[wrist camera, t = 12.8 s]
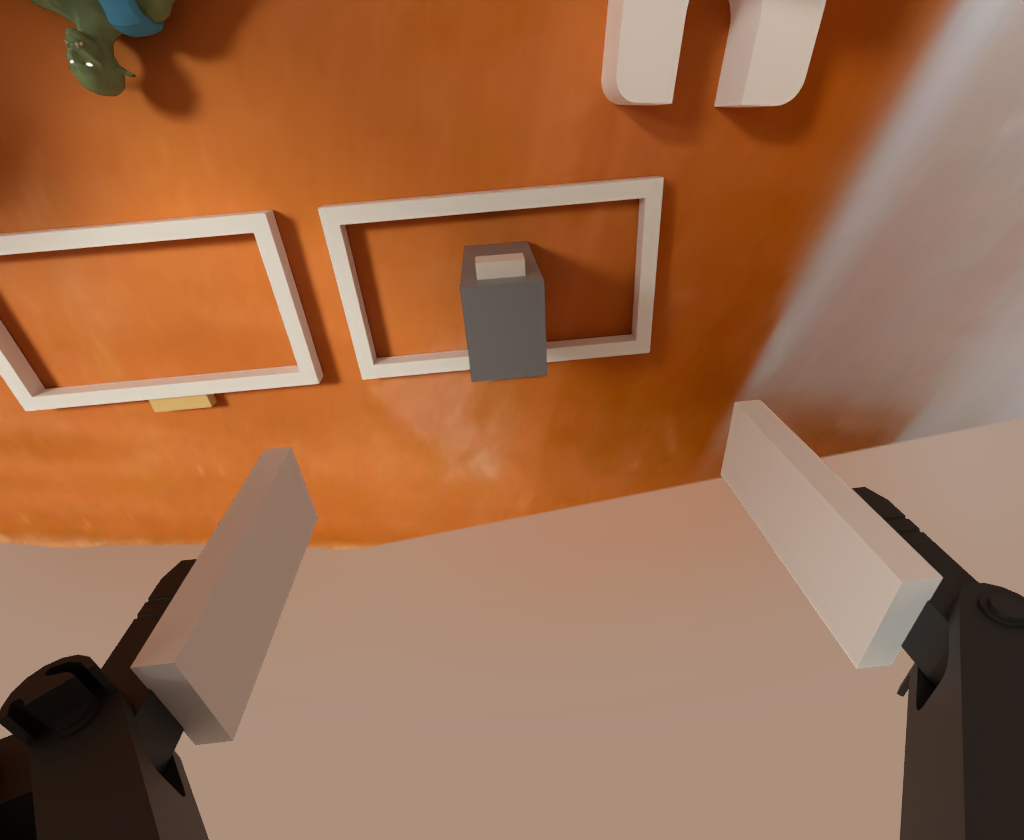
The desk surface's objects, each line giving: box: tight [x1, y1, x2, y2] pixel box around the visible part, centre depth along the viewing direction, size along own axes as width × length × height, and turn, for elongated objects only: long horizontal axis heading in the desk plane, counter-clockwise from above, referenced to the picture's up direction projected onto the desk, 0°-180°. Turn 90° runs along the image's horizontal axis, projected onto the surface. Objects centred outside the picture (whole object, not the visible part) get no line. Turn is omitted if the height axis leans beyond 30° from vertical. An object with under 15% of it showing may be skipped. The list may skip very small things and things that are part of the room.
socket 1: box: [0, 210, 323, 412], centre depth 31 cm, size 20×12×1 cm, turn 94°
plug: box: [460, 241, 547, 382], centre depth 28 cm, size 4×6×9 cm
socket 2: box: [318, 176, 664, 382], centre depth 32 cm, size 20×12×1 cm, turn 94°
